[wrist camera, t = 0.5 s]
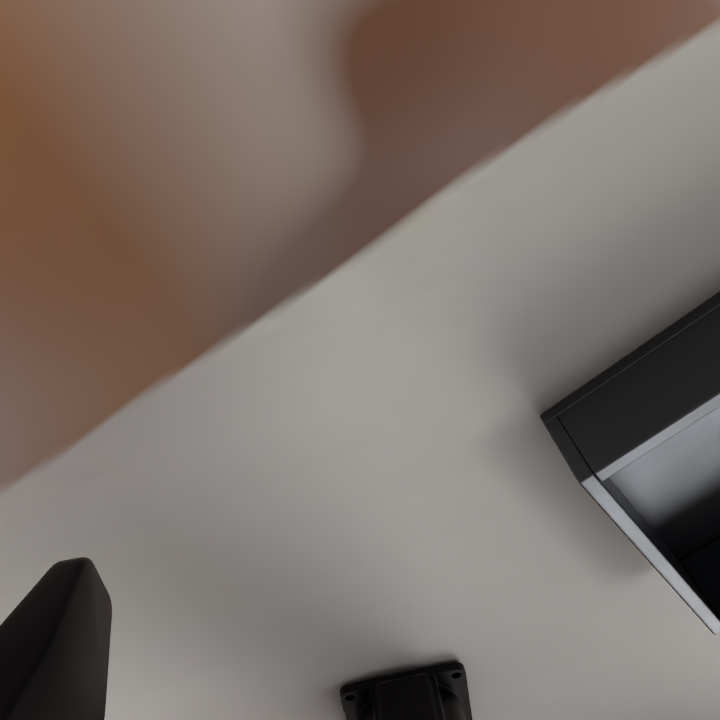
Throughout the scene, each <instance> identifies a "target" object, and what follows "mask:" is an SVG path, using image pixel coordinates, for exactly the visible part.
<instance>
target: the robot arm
mask: <svg viewBox="0 0 720 720" xmlns="http://www.w3.org/2000/svg"><path fill="white" fill-rule="evenodd" d="M111 619H112V605H111V600H110V596H109V594H108V592H107V590H106V588H105V586H104V584H103V582H102V580H101V578H100V576H99V573H98V571H97V569H96V567H95V565H94V564H93V562H92V561H91V560H90V559H89V558H86V557H81V558H76V559H70V560H64V561H60V562H57V563H56V564H54V565H53V566H52V567H51V568H50V569H49V570H48V571H47V573H46V574H45V575H44V576H43V577H42V578H41V579H40V581H39V582H38V583H37V584H36V585H35V586H34V587H33V589H32V590H31V591H30V592H29V593H28V594H27V596H26V597H25V598H24V599H23V600H22V601H21V602H20V604H19V605H18V606H17V607H16V608H15V609H14V610H13V612H12V613H11V614H10V615H9V616H8V617H7V618H6V620H5V621H4V622H3V623H2V624H1V625H0V720H104V717H105V706H106V691H107V677H108V662H109V648H110V634H111ZM340 698H341V702H342V706H343V709H344V712H345V715H346V719H347V720H472V716H471V708H470V701H469V694H468V687H467V679H466V673H465V669H464V666H463V664H461V663H458V662H455V663H449V664H444V665H440V666H435V667H430V668H425V669H421V670H416V671H411V672H406V673H402V674H397V675H392V676H387V677H383V678H378V679H373V680H368V681H364V682H359V683H354V684H349V685H346V686H344V687H342V688H341V690H340Z"/></svg>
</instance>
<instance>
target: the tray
mask: <svg viewBox="0 0 720 720" xmlns="http://www.w3.org/2000/svg"><path fill="white" fill-rule="evenodd" d="M540 418H541V420H542V421H543V423H544V425H545V426H546V428H547V430H548V431H549V433H550V435H551V437H552V438H553V440H554V442H555V443H556V445H557V447H558V448H559V450H560V452H561V453H562V455H563V457H564V458H565V460H566V462H567V464H568V465H569V467H570V469H571V470H572V472H573V474H574V475H575V477H576V479H577V480H578V482H579V484H580V485H581V486H582V487H583V488H584V489H585V490H586V491H587V492H588V494H589V495H590V496H591V497H592V498H593V499H594V500H595V501H596V503H597V504H598V505H599V506H600V507H601V508H602V509H603V510H604V512H605V513H606V514H607V515H608V516H609V517H610V518H611V519H612V521H613V522H614V523H615V524H616V525H617V526H618V527H619V528H620V530H621V531H622V532H623V533H624V534H625V535H626V536H627V537H628V539H629V540H630V541H631V542H632V543H633V544H634V545H635V546H636V548H637V549H638V550H639V551H640V552H641V553H642V554H643V555H644V557H645V558H646V559H647V560H648V561H649V562H650V563H651V564H652V565H653V567H654V568H655V569H656V570H657V571H658V572H659V573H660V574H661V576H662V577H663V578H664V579H665V580H666V581H667V582H668V583H669V585H670V586H671V587H672V588H673V589H674V590H675V591H676V592H677V594H678V595H679V596H680V597H681V598H682V599H683V600H684V601H685V603H686V604H687V605H688V606H689V607H690V608H691V609H692V610H693V612H694V613H695V614H696V615H697V616H698V617H699V618H700V619H701V621H702V622H703V623H704V624H705V625H706V626H707V627H708V628H709V630H710V631H711V632H712V633H713V634H714V635H715V634H717V633H719V632H720V292H719V293H718V294H717V295H715V296H714V297H712V298H711V299H709V300H708V301H706V302H705V303H703V304H702V305H701V306H699V307H698V308H696V309H695V310H693V311H692V312H690V313H689V314H687V315H686V316H685V317H683V318H682V319H680V320H679V321H677V322H676V323H674V324H673V325H671V326H670V327H668V328H667V329H666V330H664V331H663V332H661V333H660V334H658V335H657V336H655V337H654V338H652V339H651V340H650V341H648V342H647V343H645V344H644V345H642V346H641V347H639V348H638V349H636V350H635V351H633V352H632V353H631V354H629V355H628V356H626V357H625V358H623V359H622V360H620V361H619V362H617V363H616V364H615V365H613V366H612V367H610V368H609V369H607V370H606V371H604V372H603V373H601V374H600V375H599V376H597V377H596V378H594V379H593V380H591V381H590V382H588V383H587V384H585V385H584V386H582V387H581V388H580V389H578V390H577V391H575V392H574V393H572V394H571V395H569V396H568V397H566V398H565V399H564V400H562V401H561V402H559V403H558V404H556V405H555V406H553V407H552V408H550V409H549V410H547V411H546V412H545V413H543V414H542V415H540Z"/></svg>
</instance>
